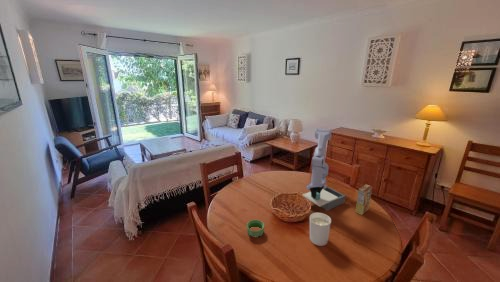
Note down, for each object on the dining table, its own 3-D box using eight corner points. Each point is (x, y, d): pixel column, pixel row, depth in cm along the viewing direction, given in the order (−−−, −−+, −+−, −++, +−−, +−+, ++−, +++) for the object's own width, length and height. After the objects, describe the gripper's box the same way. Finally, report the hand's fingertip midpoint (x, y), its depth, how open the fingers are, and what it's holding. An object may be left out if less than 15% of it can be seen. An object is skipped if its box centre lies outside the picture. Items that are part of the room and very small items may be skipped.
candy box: (361, 206, 131) (365, 183, 126) (369, 209, 127) (372, 186, 123) (354, 212, 125) (358, 188, 121) (362, 215, 122) (365, 191, 118)
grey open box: (309, 199, 139) (310, 193, 137) (326, 193, 146) (327, 186, 145) (327, 210, 127) (327, 203, 126) (344, 202, 135) (345, 195, 133)
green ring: (248, 239, 106) (248, 232, 105) (245, 227, 114) (245, 220, 113) (266, 237, 107) (266, 229, 106) (261, 225, 116) (261, 218, 115)
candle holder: (326, 250, 98) (328, 228, 95) (305, 242, 103) (306, 220, 100) (331, 237, 106) (333, 216, 103) (311, 230, 111) (312, 210, 108)
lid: (302, 195, 134) (302, 189, 133) (320, 188, 142) (320, 182, 140) (319, 206, 122) (320, 199, 121) (338, 198, 130) (338, 191, 129)
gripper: (313, 182, 119) (311, 203, 123) (330, 175, 126) (328, 196, 130) (304, 177, 125) (302, 198, 129) (321, 171, 132) (319, 191, 136)
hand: (315, 196), depth 130 cm, fingers closed on lid, 2 cm apart
